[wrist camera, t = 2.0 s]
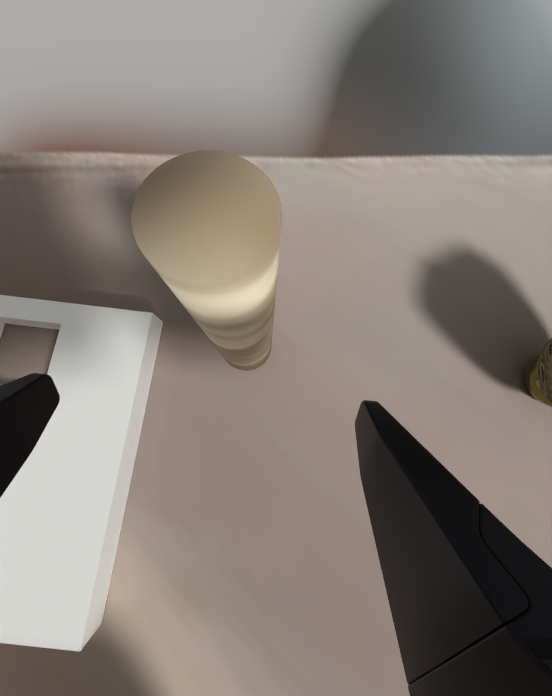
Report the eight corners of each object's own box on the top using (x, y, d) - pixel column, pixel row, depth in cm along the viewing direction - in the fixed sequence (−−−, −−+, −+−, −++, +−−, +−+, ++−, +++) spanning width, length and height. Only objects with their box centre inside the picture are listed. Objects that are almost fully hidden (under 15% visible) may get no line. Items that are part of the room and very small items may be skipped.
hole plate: (101, 623, 17) (80, 651, 15) (-111, 600, 17) (-161, 625, 15) (163, 322, 20) (152, 312, 19) (-9, 301, 20) (-38, 290, 18)
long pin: (268, 373, 20) (272, 291, 6) (218, 367, 20) (115, 272, 6) (273, 325, 21) (288, 160, 7) (225, 319, 21) (148, 142, 7)
